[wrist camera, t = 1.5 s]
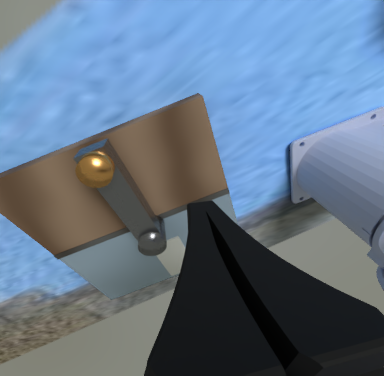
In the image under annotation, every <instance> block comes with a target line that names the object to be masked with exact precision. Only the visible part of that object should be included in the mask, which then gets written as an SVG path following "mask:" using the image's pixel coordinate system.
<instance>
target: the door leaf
mask: <svg viewBox="0 0 384 376" xmlns="http://www.w3.org/2000/svg"><path fill="white" fill-rule="evenodd" d="M212 201H214V202H215V203H216V204H217V205H218V206H219V207H220V208H221V209H222V210H223V211H224V212H225V213H226V214H227V215H228V216H229V217H230V218H231V219H232V220H233V221H234V222H235V223H236V224H237V225H238V223H237V219H236V216H235V212H234V209H233V205H232V201H231V198H230V194H226V195H224V196H221V197H218V198H216V199H213V200H212ZM163 220H164V222H165V231H166V241H167V248H166V250H165V251H164V252H163V253H161V254H159V255H156V256H146V255H143V254H142V253H140V252H139V250H138V241H137V239H136V238H135V237H134V236H133V234H132V233H131V232H128V233H125V234H123V235H120V236H117V237H115V238H112V239H110V240H107V241H104V242H102V243H99V244H97V245H94V246H92V247H89V248H86V249H84V250H81V251H79V252H76V253H73V254H71V255H68V256H66V257H63V258H60V260H61V261H62V262H64V263H65V264H66V265H67V266H69V267H70V268H71V269H72V270H74V271H75V272H76V273H78V274H79V275H80V276H81V277H83V278H84V279H85V280H87V281H88V282H89V283H90V284H92V285H93V286H94V287H96V288H97V289H98V290H99V291H101V292H102V293H103V294H104V295H106V296H107V297H108V298H110V299H111V300H113V299H115V298H118V297H121V296H123V295H126V294H129V293H131V292H134V291H137V290H139V289H142V288H144V287H147V286H150V285H152V284H155V283H158V282H160V281H163V280H166V279H168V278H171V277H174V276H176V275H179V273H180V270H181V266H182V262H183V258H184V253H185V248H186V242H187V236H188V220H187V210H185V211H182V212H180V213H177V214H174V215H172V216H169V217H167V218H164V219H163Z"/></svg>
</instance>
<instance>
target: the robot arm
mask: <svg viewBox="0 0 384 376" xmlns="http://www.w3.org/2000/svg"><path fill="white" fill-rule="evenodd" d="M300 143H302V144H301V145H300ZM299 145H300V146H299ZM290 170H291V200H292V202H293V203H295V204H296V203H299V202H302V201H304V200H307V199H310V198H313V199H314V200H316V201H317V202H318V203H319V204H320V205H322V206H323V207H324V208H325V209H326V210H328V211H329V212H330V213H331V214H332V215H334V216H335V217H336V218H337V219H339V220H340V221H341V222H342V223H343V224H344V225H346V226H347V227H348V228H349V229H351V230H352V231H353V232H354V233H355V234H356V235H358V236H359V237H360V238H361V239H362V240H364V241H365V242H366V243H367V244H368V245H369V246H371V247H372V248H371V250H370V251H369V252H368V254H367V255H368V256H369V257H370V258H371V259H372V260H373V261H374V262H375V263H377V264H378V265H379V266H378V268H377V278H378V281H379V283H380V285H381V287H382V289H383V291H384V107H380V108H377V109H374V110H372V111H369V112H367V113H364V114H362V115H359V116H357V117H354V118H351V119H349V120H346V121H344V122H341V123H339V124H336V125H333V126H331V127H328V128H326V129H323V130H321V131H318V132H316V133H313V134H310V135H308V136H305V137H303V138H300V139H298V140H295V141H293V142H292V143H291V145H290ZM187 220H188V236H187V242H186V248H185V253H184V258H183V262H182V266H181V270H180V273H179V277H178V280H177V284H176V287H175V290H174V293H173V297H172V299H171V302H170V305H169V308H168V311H167V313H166V316H165V319H164V321H163V324H162V327H161V329H160V331H159V334H158V336H157V339H156V341H155V343H154V346H153V348H152V351H151V353H150V356H149V358H148V361H147V367H146V370H145V374H144V376H384V315H383V314H382V313H381V312H380V311H379V310H378V309H377V308H375V307H374V306H371V305H369V304H367V303H365V302H363V301H361V300H359V299H356V298H354V297H352V296H350V295H348V294H345V293H344V292H341V291H339V290H337V289H335V288H333V287H331V286H329V285H327V284H326V283H323V282H322V281H320V280H318V279H316V278H314V277H312V276H310V275H309V274H307V273H305V272H303V271H302V270H300V269H298V268H296V267H295V266H293V265H291V264H290V263H288V262H286V261H285V260H283V259H282V258H280V257H278V256H277V255H276V254H274V253H273V252H271V251H270V250H269V249H267V248H266V247H264V246H263V245H262V244H260V243H259V242H258V241H256V240H255V239H254V238H253V237H251V236H250V235H249V234H248V233H246V232H245V231H244V230H243V229H242V228H241V227H240V226H238V225H237V224H236V223H235V222H234V221H233V220H232V219H231V218H230V217H229V216H228V215H227V214H226V213H225V212H224V211H223V210H222V209H221V208H220V207H219V206H218V205H217V204H216V203H215V202H214V201H212V200H211V201H204V202H196V203H189V204H188V205H187Z"/></svg>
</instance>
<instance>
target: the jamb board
mask: <svg viewBox="0 0 384 376" xmlns="http://www.w3.org/2000/svg"><path fill="white" fill-rule="evenodd" d="M107 138H108V139H109V141H110V142H111V144H112V146H113V147H114V149H115V150H116V152H117V154H118V155H119V157H120V159H121V160H122V162H123V163H124V165H125V167H126V168H127V170H128V171H129V173H130V175H131V176H132V178H133V180H134V181H135V183H136V184H137V186H138V188H139V189H140V191H141V192H142V194H143V196H144V197H145V199H146V201H147V202H148V204H149V205H150V207H151V209H152V210H153V212H154V213H155V215H157V216H160V217H161V218H163V219H164V218H167V217H169V216H172V215H174V214H177V213H180V212H182V211H185V210H187V205H188V204H189V203H196V202H204V201H211V200H213V199H216V198H218V197H221V196H224V195H226V194H229V190H228V187H227V183H226V179H225V176H224V172H223V168H222V165H221V161H220V157H219V154H218V150H217V146H216V143H215V139H214V136H213V132H212V128H211V125H210V121H209V117H208V114H207V110H206V106H205V103H204V99H203V96H202V95H200V94H199V93H197V94H195V95H192V96H190V97H188V98H185V99H183V100H180V101H178V102H175V103H173V104H170V105H168V106H165V107H163V108H160V109H158V110H155V111H153V112H150V113H148V114H145V115H143V116H141V117H138V118H136V119H133V120H131V121H128V122H126V123H123V124H121V125H118V126H116V127H113V128H111V129H108V130H106V131H103V132H101V133H98V134H96V135H94V136H91V137H89V138H86V139H84V140H81V141H79V142H76V143H74V144H71V145H69V146H66V147H64V148H61V149H59V150H56V151H54V152H52V153H49V154H47V155H44V156H42V157H39V158H37V159H34V160H32V161H29V162H27V163H24V164H22V165H19V166H17V167H14V168H12V169H9V170H7V171H5V172H2V173H0V213H1V214H2V215H3V216H5V217H6V218H7V219H8V220H10V221H11V222H12V223H14V224H15V225H16V226H17V227H19V228H20V229H21V230H23V231H24V232H25V233H26V234H28V235H29V236H30V237H31V238H33V239H34V240H35V241H37V242H38V243H39V244H40V245H42V246H43V247H44V248H46V249H47V250H48V251H49V252H51V253H52V254H53V255H54V257H56V258H57V259H60V258H63V257H66V256H68V255H71V254H73V253H76V252H79V251H81V250H84V249H86V248H89V247H92V246H94V245H97V244H99V243H102V242H104V241H107V240H110V239H112V238H115V237H117V236H120V235H123V234H125V233H128V232H130V230H129V229H128V228H127V227H126V225H125V224H124V223H123V222H122V220H121V219H120V218H119V216H118V215H117V214H116V213H115V211H114V210H113V209H112V207H111V206H110V205H109V204H108V202H107V201H106V200H105V199H104V197H103V196H102V195H101V193H100V192H99V191H98V190H97V188H92V187H89V186H86V185H84V184H83V183H82V182H80V181H79V179H78V178H77V176H76V173H75V169H76V166H77V163H76V162H75V160H74V159H73V158H74V157H75V155H76V154H77V153H78V151H79V150H80V149H82V148H84V147H87V146H89V145H92V144H94V143H97V142H99V141H102V140H104V139H107Z"/></svg>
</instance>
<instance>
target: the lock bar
mask: <svg viewBox="0 0 384 376" xmlns="http://www.w3.org/2000/svg"><path fill="white" fill-rule="evenodd" d="M73 159H74V160H75V162H76V163H77V166H76V169H75V173H76V176H77V178H78V179H79V181H80V182H82V183H83V184H84V185H86V186H89V187H92V188H97V190H98V191H99V192H100V193H101V195H102V196H103V197H104V199H105V200H106V201H107V202H108V204H109V205H110V206H111V207H112V209H113V210H114V211H115V213H116V214H117V215H118V216H119V218H120V219H121V220H122V222H123V223H124V224H125V225H126V227H127V228H128V229H129V230H130V232H131V233H132V234H133V236H134V237H135V238H136V239H137V241H138V250H139V252H140V253H142V254H143V255H146V256H156V255H159V254H161V253H163V252H164V251H165V250H166V248H167V241H166V231H165V222H164V220H163V218H161V217H160V216H157V215H155V213H154V212H153V210H152V209H151V207H150V205H149V204H148V202H147V201H146V199H145V197H144V196H143V194H142V192H141V191H140V189H139V188H138V186H137V184H136V183H135V181H134V180H133V178H132V176H131V175H130V173H129V171H128V170H127V168H126V167H125V165H124V163H123V162H122V160H121V159H120V157H119V155H118V154H117V152H116V150H115V149H114V147H113V146H112V144H111V142H110V141H109V139H108V138H107V139H104V140H102V141H99V142H97V143H94V144H92V145H89V146H87V147H84V148H82V149H80V150H79V151H78V153H77V154H76V155H75V157H74V158H73Z"/></svg>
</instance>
